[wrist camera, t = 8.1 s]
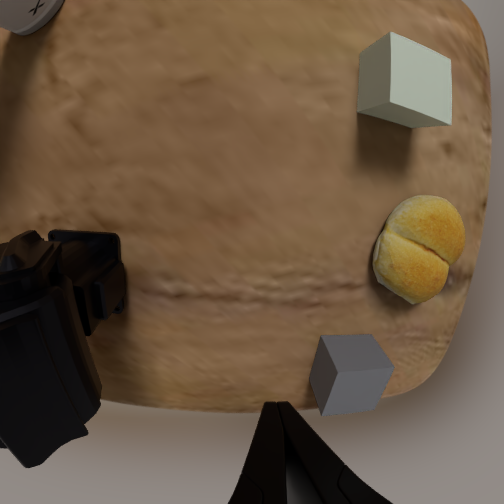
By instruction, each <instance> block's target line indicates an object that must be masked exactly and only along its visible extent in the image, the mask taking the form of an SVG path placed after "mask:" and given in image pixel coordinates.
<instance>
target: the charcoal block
mask: <svg viewBox="0 0 504 504" xmlns="http://www.w3.org/2000/svg"><path fill="white" fill-rule="evenodd" d="M394 368H395V367H394V365H393V364H392V363H391V361H390V360H389V358H388V357H387V355H386V354H385V353H384V351H383V350H382V348H381V347H380V346H379V344H378V343H377V341H376V340H375V339H374V337H373V336H372V334H366V335H321V337H320V340H319V344H318V348H317V352H316V355H315V359H314V363H313V366H312V370H311V373H310V377H309V380H310V383H311V386H312V389H313V392H314V395H315V398H316V401H317V404H318V407H319V410H320V413H321V416H327V415H337V414H347V413H354V412H362V411H369V410H374V409H375V407H376V405H377V403H378V401H379V399H380V397H381V395H382V393H383V391H384V389H385V387H386V385H387V383H388V381H389V379H390V376H391V374H392V372H393V370H394Z"/></svg>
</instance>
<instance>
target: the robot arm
mask: <svg viewBox="0 0 504 504" xmlns="http://www.w3.org/2000/svg"><path fill="white" fill-rule="evenodd" d="M53 234H54V235H55V238H54V237H53ZM111 238H113V239H114V241H115V242H114V243H113V242H111V240H110V239H111ZM124 295H125V279H124V264H123V263H122V261H120V240H119V237H118V235H117V234H116V233H107V232H91V231H73V230H56V229H54V230H52V231H50V232H49V233H48V241H44V238H41V236H40V235H39V234H38V233H37V232H36V231H35V230H29V231H26V232H24V233H22V234H20V235H18V236H16V237H14V238H13V239H11V240H10V241H9V242H7V243H2V244H0V448H7V449H9V450H10V451H11V453H12V454H13V455H14V456H15V457H16V458H17V459H18V461H19V462H20V463H21V464H22V465H23V466H24V467H25V468H31V467H35V466H38V465H40V464H42V463H43V462H44V461H45V460H46V459H47V458H48V457H49V456H50V455H51V454H52V453H53V452H55V451H56V450H57V449H58V448H59V447H60V446H62V445H64V444H65V443H68V442H69V441H71V440H73V439H77V438H80V437H83V436H86V435H88V430H87V429H86V427H85V425H84V424H85V423H86V422H87V421H89V420H90V419H91V418H92V417H93V416H94V415H95V414H96V412H97V411H98V409H99V407H100V406H101V403H100V398H101V390H102V385H101V382H100V379H99V376H98V373H97V370H96V367H95V365H94V362H93V359H92V356H91V353H90V349H89V346H88V343H87V340H86V336H90V335H91V334H92V333H93V331H94V330H95V328H96V327H97V325H98V324H99V323H100V321H101V320H107V319H108V318H109V316H110V315H111V313H116V314H120V313H122V311H123V309H124V300H123V296H124ZM116 306H119V308H120V309H118V308H117V307H116ZM228 504H393V503H391V502H390V501H389V500H387V499H386V498H384V497H383V496H381V495H380V494H379V493H377V492H376V491H375V490H374V489H372V488H371V487H370V486H368V485H367V484H366V483H365V482H363V481H362V480H361V479H360V478H359V477H358V476H357V475H356V474H354V472H353V471H352V470H351V469H350V468H349V467H348V466H347V465H344V462H343V461H342V460H341V459H340V458H339V457H338V456H337V455H336V454H335V453H334V452H333V451H332V450H331V449H330V448H329V446H328V445H327V444H326V443H325V442H324V441H323V440H322V439H321V438H320V437H319V435H318V434H317V433H316V432H315V431H314V430H313V429H312V428H311V427H310V426H309V425H308V423H307V422H306V421H305V420H304V419H303V418H302V416H301V415H300V414H299V413H298V412H297V411H296V410H295V408H294V407H293V406H292V405H291V404H290V403H289V402H288V401H280V402H277V403H276V402H265V403H264V405H263V408H262V411H261V415H260V418H259V421H258V424H257V428H256V430H255V434H254V437H253V440H252V443H251V446H250V449H249V452H248V455H247V458H246V461H245V463H244V466H243V469H242V473H241V475H240V478H239V480H238V483H237V485H236V488H235V490H234V492H233V495H232V496H231V498H230V500H229V502H228Z"/></svg>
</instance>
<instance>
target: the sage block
mask: <svg viewBox="0 0 504 504" xmlns="http://www.w3.org/2000/svg"><path fill="white" fill-rule="evenodd" d="M357 112H358V113H362V114H366V115H370V116H374V117H377V118H381V119H384V120H387V121H391V122H394V123H397V124H400V125H404V126H407V127H410V128H420V127H432V126H448V125H451V118H452V79H451V60H450V59H448V58H446V57H445V56H443V55H441V54H439V53H437V52H435V51H433V50H431V49H429V48H427V47H425V46H423V45H421V44H418V43H416V42H414V41H412V40H409V39H407V38H405V37H402V36H400V35H398V34H395V33H393V32H389V33H388V34H386V35H385V36H383V37H382V38H380V39H379V40H377V41H376V42H375V43H373V44H372V45H370V46H369V47H368V48H366V49H365V50H364V51H362V52H361V53H360V64H359V86H358V101H357Z"/></svg>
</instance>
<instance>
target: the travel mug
mask: <svg viewBox="0 0 504 504" xmlns="http://www.w3.org/2000/svg"><path fill="white" fill-rule="evenodd" d="M63 1H64V0H0V27H2V28H4V29H7V30H9V31H11V32H13V33H16V34H18V35H28V34H31V33H33V32H35V31H37V30H38V29H40V28H41V27H42V26H44V25H45V24H46V23H47V22H48V21H49V20H50V19H51V18H52V17H53V16H54V15H55V13H56V12H57V11H58V9H59V8H60V6H61V5H62V3H63Z"/></svg>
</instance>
